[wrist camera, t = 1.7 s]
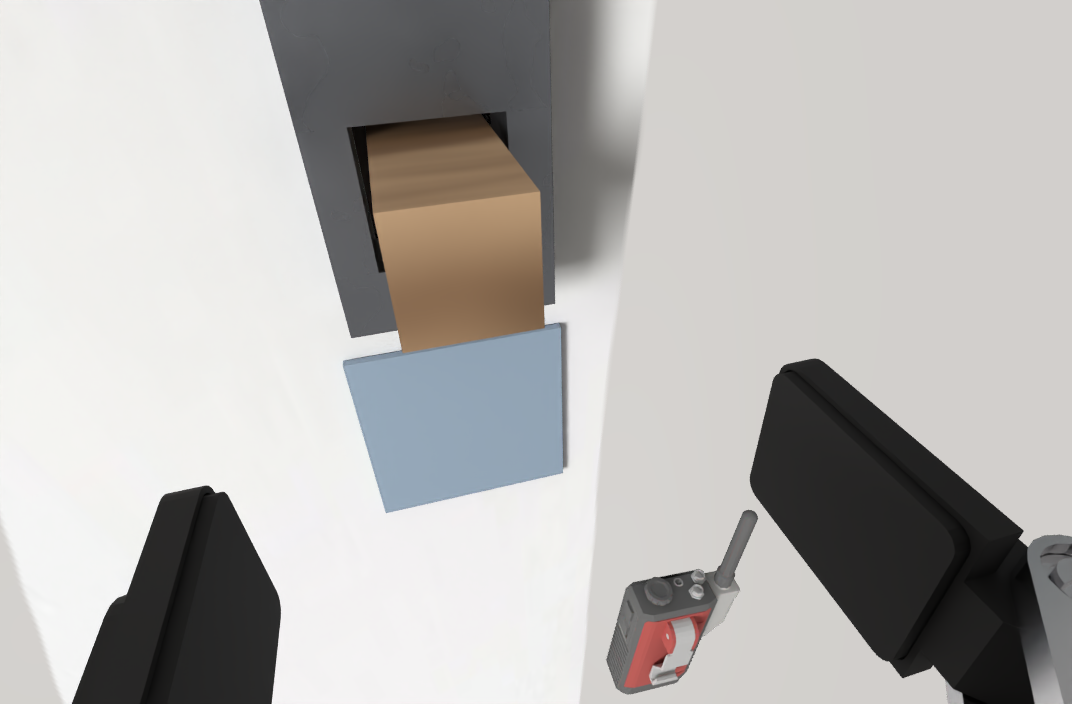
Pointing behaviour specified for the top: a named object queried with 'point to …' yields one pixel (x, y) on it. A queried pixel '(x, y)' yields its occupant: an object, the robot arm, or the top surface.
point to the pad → (461, 416)
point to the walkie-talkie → (672, 619)
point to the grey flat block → (407, 108)
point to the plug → (455, 231)
